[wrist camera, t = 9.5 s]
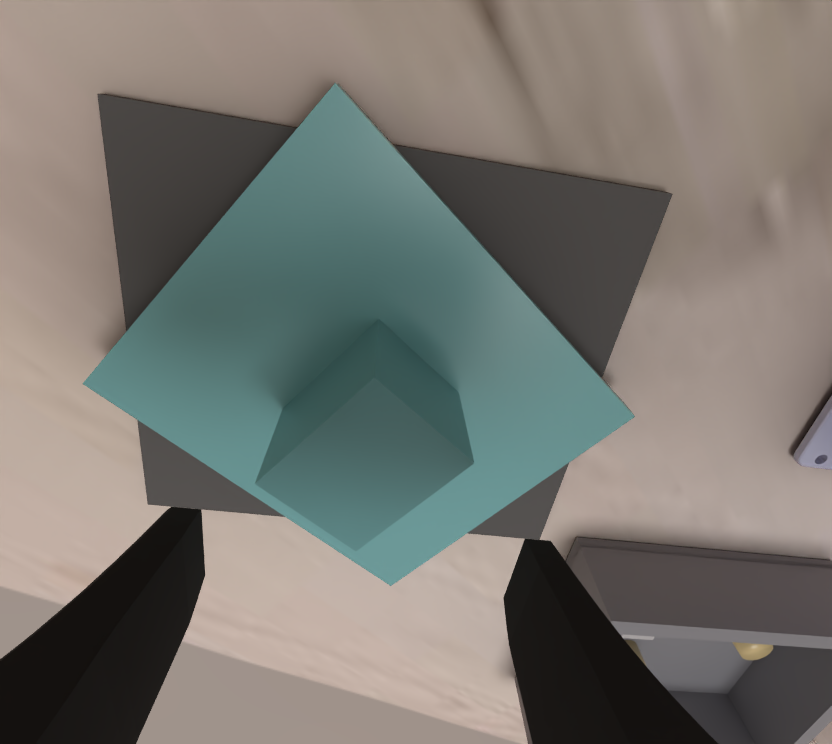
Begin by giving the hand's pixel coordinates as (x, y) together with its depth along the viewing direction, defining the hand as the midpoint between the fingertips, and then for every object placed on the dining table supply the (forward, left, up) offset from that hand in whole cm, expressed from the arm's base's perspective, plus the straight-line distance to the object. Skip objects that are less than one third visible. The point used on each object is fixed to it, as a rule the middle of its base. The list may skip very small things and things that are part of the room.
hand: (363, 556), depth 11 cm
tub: (-18, +14, -9) cm, 25 cm away
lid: (0, +1, -9) cm, 9 cm away
